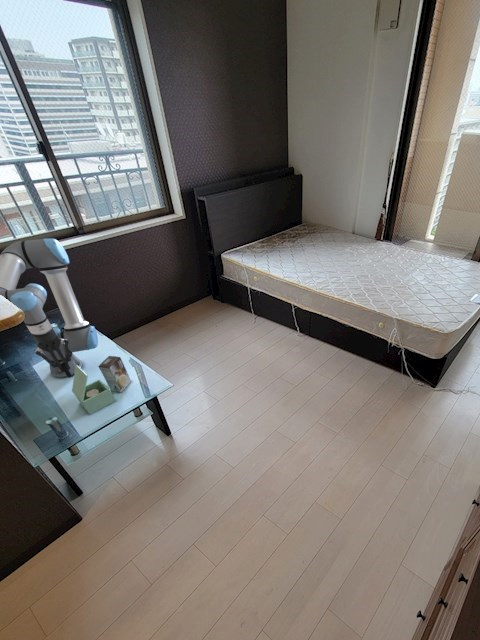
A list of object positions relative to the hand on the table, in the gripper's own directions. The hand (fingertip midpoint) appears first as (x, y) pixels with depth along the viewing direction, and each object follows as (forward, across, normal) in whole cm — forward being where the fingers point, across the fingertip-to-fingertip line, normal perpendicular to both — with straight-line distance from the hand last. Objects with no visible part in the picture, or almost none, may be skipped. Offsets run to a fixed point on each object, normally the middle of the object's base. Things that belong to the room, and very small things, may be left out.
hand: (69, 376), depth 153 cm
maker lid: (+6, +2, 0) cm, 6 cm away
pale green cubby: (+20, +5, 0) cm, 20 cm away
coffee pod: (+19, +5, 0) cm, 19 cm away
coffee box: (+20, +18, +3) cm, 27 cm away
